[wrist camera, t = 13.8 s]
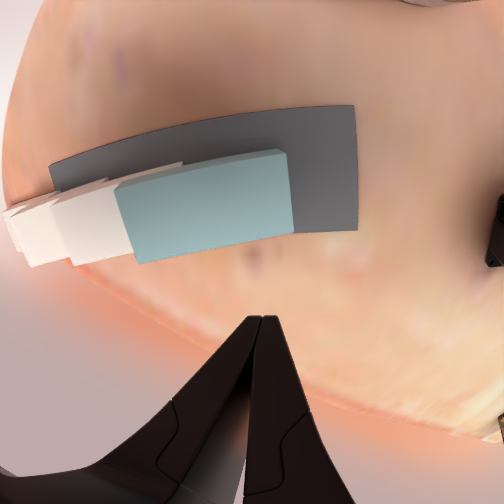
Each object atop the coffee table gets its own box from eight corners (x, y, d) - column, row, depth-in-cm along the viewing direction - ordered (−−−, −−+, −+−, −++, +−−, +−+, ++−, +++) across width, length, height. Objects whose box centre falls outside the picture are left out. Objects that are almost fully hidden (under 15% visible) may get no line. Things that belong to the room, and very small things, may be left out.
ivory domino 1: (100, 183, 18) (9, 218, 18) (120, 243, 21) (30, 267, 20) (108, 176, 20) (20, 209, 19) (126, 233, 22) (39, 256, 22)
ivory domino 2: (180, 167, 17) (49, 206, 16) (197, 238, 19) (74, 266, 19) (183, 161, 19) (61, 197, 18) (198, 226, 21) (82, 253, 21)
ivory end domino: (45, 198, 20) (1, 212, 22) (64, 249, 22) (17, 251, 24) (60, 189, 21) (13, 204, 24) (77, 238, 24) (28, 243, 26)
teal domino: (286, 153, 15) (113, 190, 15) (294, 232, 18) (138, 264, 17) (277, 148, 17) (122, 181, 17) (285, 220, 20) (143, 249, 19)
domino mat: (353, 105, 15) (353, 105, 15) (357, 228, 19) (357, 230, 19) (50, 165, 20) (48, 166, 20) (78, 246, 25) (76, 247, 24)
